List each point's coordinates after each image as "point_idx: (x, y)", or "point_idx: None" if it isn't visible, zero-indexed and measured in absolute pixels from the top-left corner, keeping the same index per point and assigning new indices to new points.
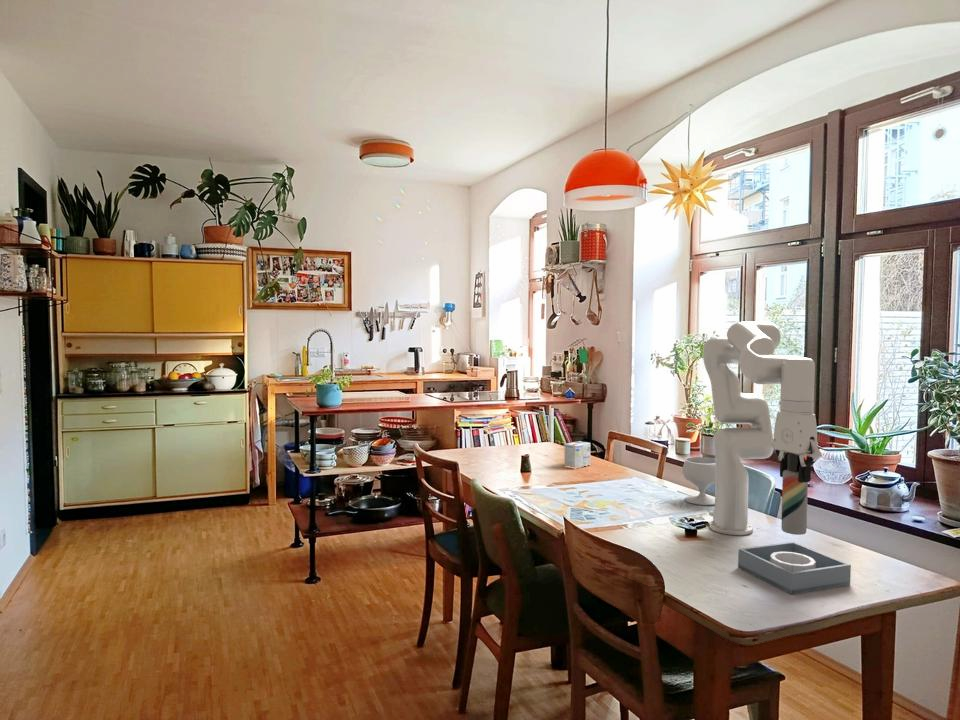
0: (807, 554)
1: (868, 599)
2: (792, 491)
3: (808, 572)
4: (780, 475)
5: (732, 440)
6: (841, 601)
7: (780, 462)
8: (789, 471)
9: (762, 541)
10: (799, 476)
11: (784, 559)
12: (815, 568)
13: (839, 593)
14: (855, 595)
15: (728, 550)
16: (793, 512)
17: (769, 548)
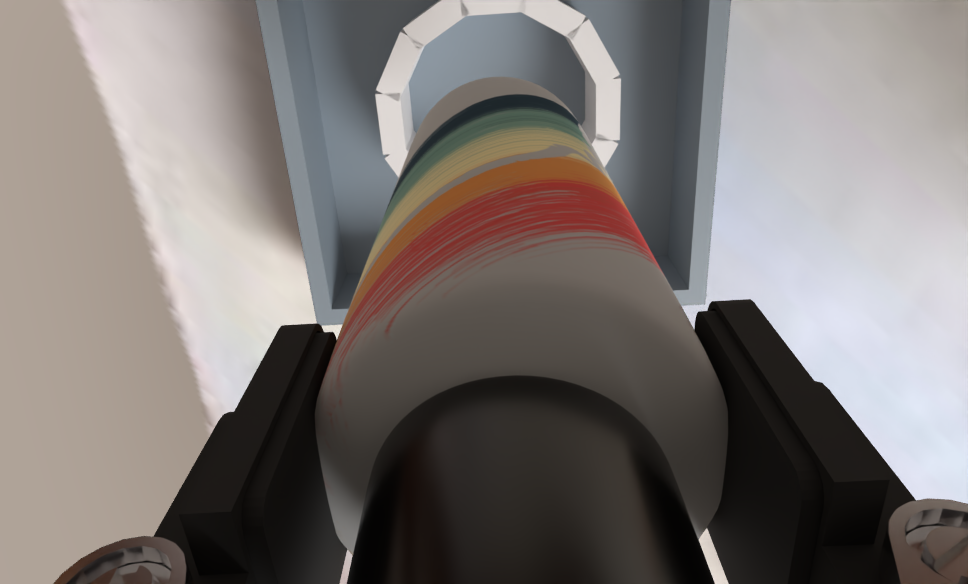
0: None
1: (182, 235)
2: (407, 205)
3: (262, 28)
4: (737, 302)
5: None
6: (169, 99)
7: (866, 461)
8: (522, 373)
9: (951, 299)
10: (280, 370)
11: (588, 130)
12: None
13: (258, 162)
14: (228, 215)
15: (953, 11)
16: (419, 144)
17: (696, 110)
